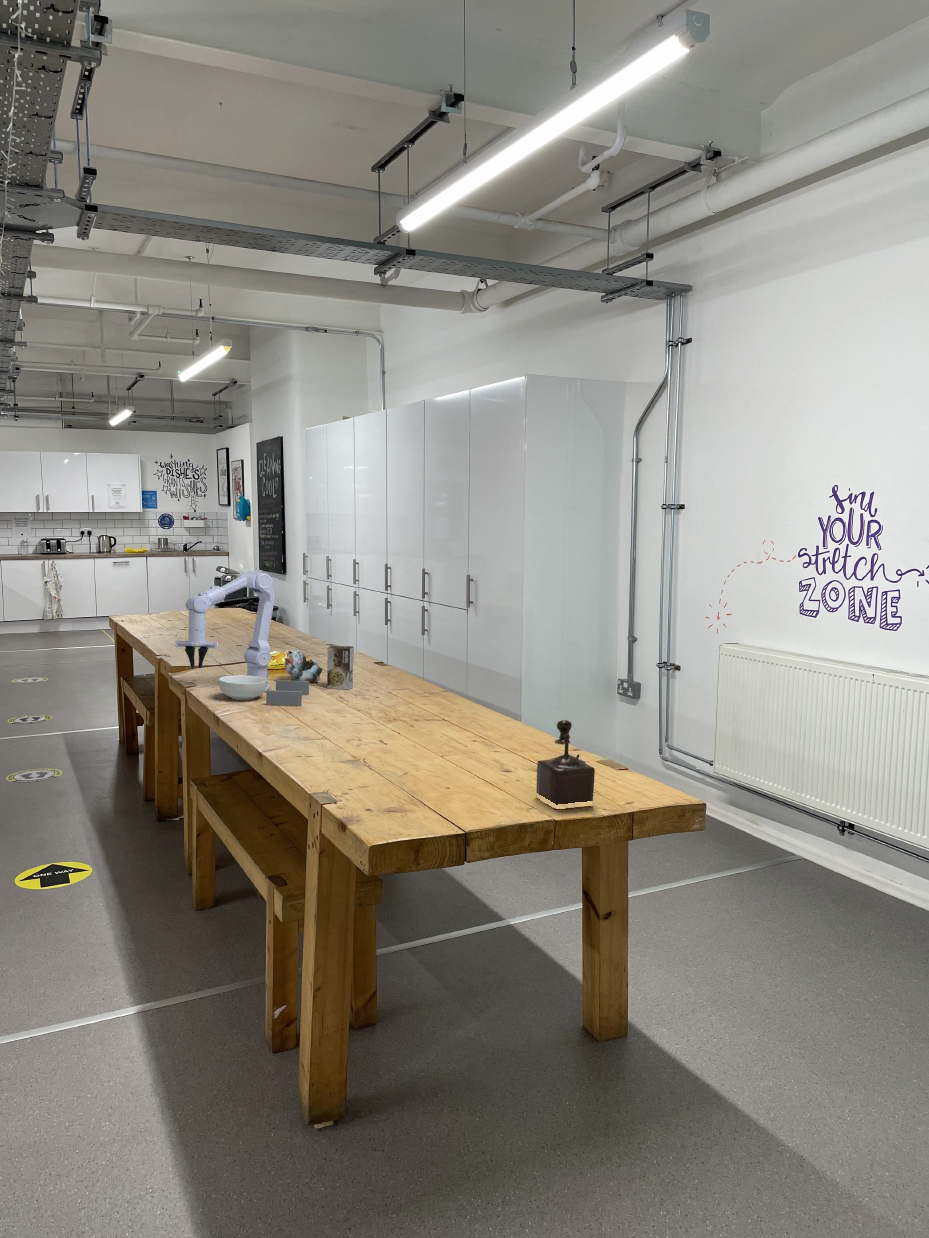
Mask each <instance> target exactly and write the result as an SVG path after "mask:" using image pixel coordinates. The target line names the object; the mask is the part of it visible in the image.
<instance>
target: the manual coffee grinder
mask: <svg viewBox="0 0 929 1238" xmlns="http://www.w3.org/2000/svg"><path fill="white" fill-rule="evenodd" d="M572 726H573V725H572V722H571V721H570V720H569V719H568V720H566V719H562V720H559V721H558V722H557V723H556V729H557V730H558V731H559V733H560V734H559V736H558V738H559V739H555V740H554V744H556V745H564V753H563V754H561V755H559V756H556V757H554V758H553V759H543V760H537V763H536V764H537V766H536V768H537V769H536V793H538V794H539V795H541V796H543V797H545V798H546V799H548V800H550V801H551V802H553V803H555V804H556V805H558V804H568V803H575V802H587V801H593V802H594V790H595V776H596V775H595V774H596V773H595V772H596V771H595V770H596V769H595V767H593V766H591V765H590V764H587V763H586V761H585V760H582V759H581V758H580V754H577V755H576V756H573V755H571V754H569V744H570V743H571V740H570V739H571V736H570V731H571V730H572Z"/></svg>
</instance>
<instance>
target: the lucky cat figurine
mask: <svg viewBox="0 0 929 1238" xmlns="http://www.w3.org/2000/svg"><path fill="white" fill-rule="evenodd" d="M287 651H288V650H287ZM284 668H285V671H286V672H287V674H288V676H290V678H291V680H292V681H309V683H311V684H315V683H316V682H318V681H319V680H320V678H321V677H320V676H321V674H322V672H323V671H324V669H323V668H322V667H320V666H319V665H318V663H317V662H316V661H314V660H313V659H311V658H310V659H308V660H307V657H306V656H305V654H304V653H301V652H300V651H299V650H297V651H296V652H293V651H291V650H289V651H288V652H287V656H286V657H285V658H284Z"/></svg>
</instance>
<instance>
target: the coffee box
mask: <svg viewBox="0 0 929 1238" xmlns="http://www.w3.org/2000/svg"><path fill="white" fill-rule="evenodd" d="M354 648H355V647H354V646H350V645H330V646H329V647H327V665H326V666H327V671H326V672H327V674H326V675H327V676H326V678H327V679H326V688H327V689H328V690H331V689H332V690H333V689H334V690H349V691H350V690H351V689H352V688H353V687H354V684H353V683H354Z"/></svg>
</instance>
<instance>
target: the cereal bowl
mask: <svg viewBox="0 0 929 1238" xmlns="http://www.w3.org/2000/svg"><path fill="white" fill-rule="evenodd" d="M267 686H268V681H267V679H266V678H263V677H258V676H247V675H246V674H245V675H242V674H241V675H239V674H238V675H237V674H236V675H235V674H234V675H233V674H232V675H225V676H221V677H219V679H218V687H219V690H220V691H221V692H222V694H224V695H225V696H228V697H230V699H231V698H232V699H231V700H234V699H235V701H251V700H254V699H255V698H256V697H259V696H261V695H263V694H264V693H266V692H265V690H266V687H267Z"/></svg>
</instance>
